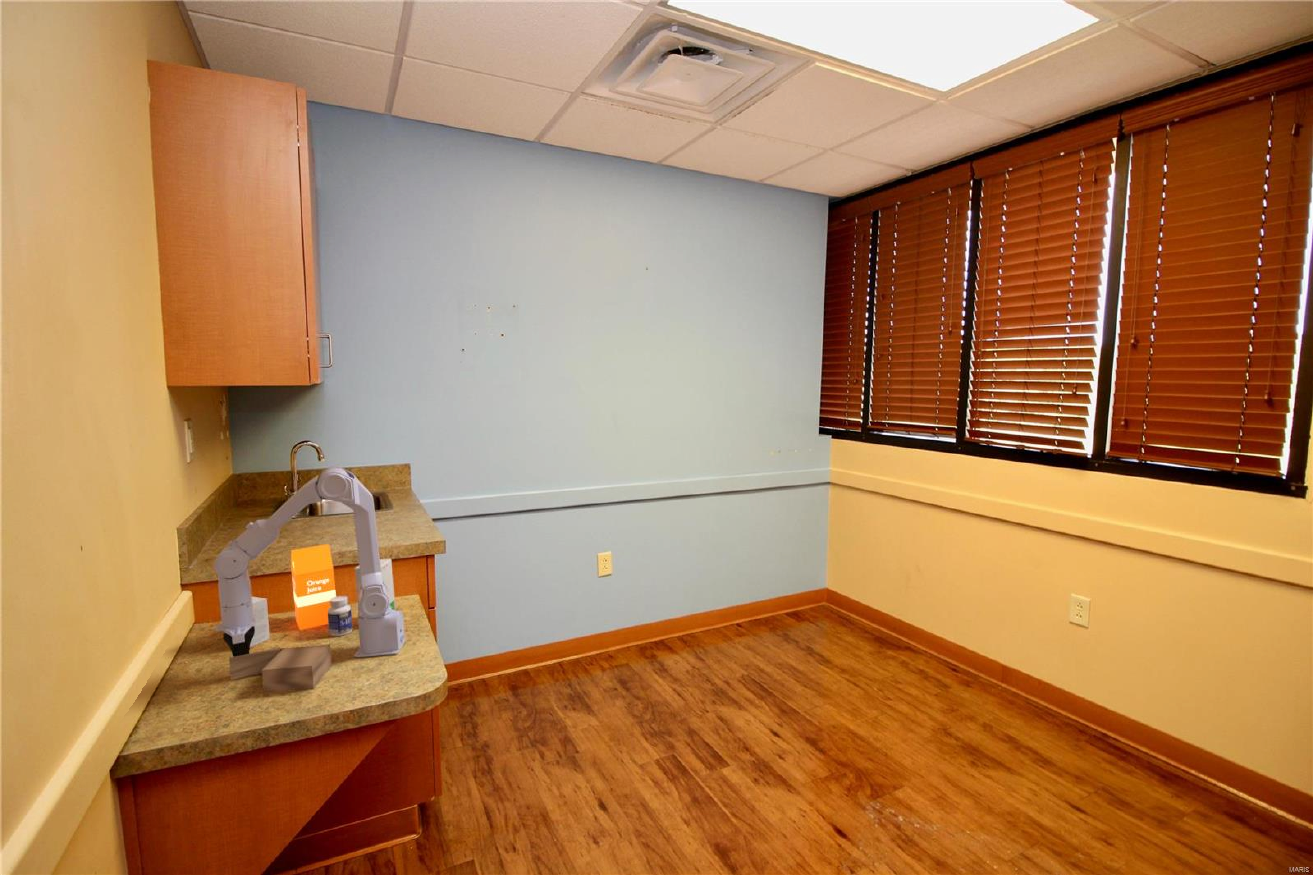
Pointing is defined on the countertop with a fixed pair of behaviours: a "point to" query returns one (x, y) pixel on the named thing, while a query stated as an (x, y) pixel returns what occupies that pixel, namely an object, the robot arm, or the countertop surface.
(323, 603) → the orange juice
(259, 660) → the door
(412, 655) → the countertop surface
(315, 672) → the cabinet
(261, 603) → the small box
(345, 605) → the pill bottle
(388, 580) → the skincare box
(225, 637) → the robot arm
